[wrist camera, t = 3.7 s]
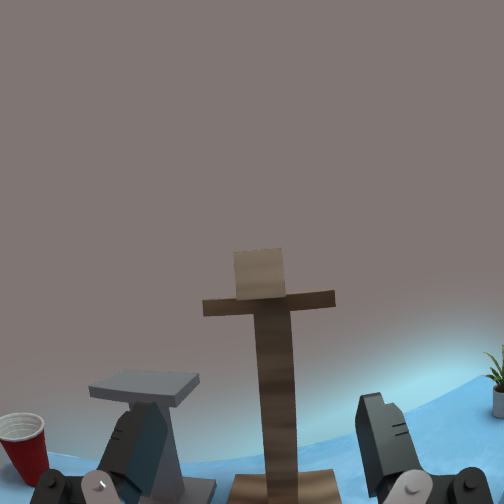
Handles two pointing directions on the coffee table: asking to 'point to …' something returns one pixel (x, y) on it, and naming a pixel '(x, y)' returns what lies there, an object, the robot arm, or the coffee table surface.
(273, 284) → the birch block
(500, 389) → the house plant
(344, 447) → the coffee table surface
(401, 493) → the robot arm
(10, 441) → the plastic cup
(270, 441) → the walnut stand
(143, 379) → the charcoal stand
